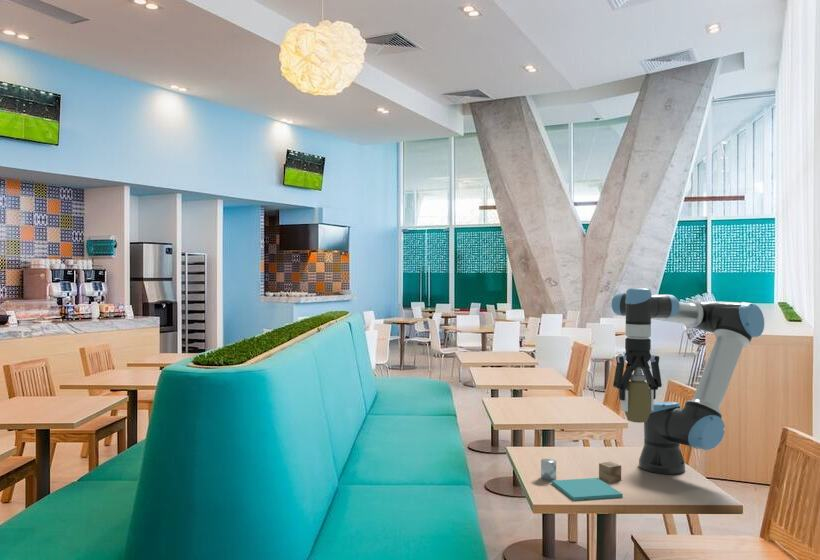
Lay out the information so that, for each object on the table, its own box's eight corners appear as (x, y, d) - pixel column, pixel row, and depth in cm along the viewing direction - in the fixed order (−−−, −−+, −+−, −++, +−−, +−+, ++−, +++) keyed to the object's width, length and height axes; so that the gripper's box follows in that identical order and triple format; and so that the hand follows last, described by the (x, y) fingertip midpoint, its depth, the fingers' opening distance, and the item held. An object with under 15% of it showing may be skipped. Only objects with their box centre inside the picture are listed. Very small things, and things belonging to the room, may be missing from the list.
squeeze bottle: (619, 421, 200) (620, 363, 200) (629, 417, 206) (629, 361, 206) (645, 425, 195) (646, 366, 195) (654, 420, 201) (655, 363, 201)
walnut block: (610, 476, 216) (610, 461, 216) (621, 480, 211) (621, 465, 211) (598, 478, 214) (599, 463, 214) (609, 482, 209) (609, 467, 209)
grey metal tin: (552, 476, 216) (552, 458, 216) (558, 480, 211) (558, 462, 211) (538, 477, 215) (538, 459, 215) (544, 481, 210) (544, 463, 210)
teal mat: (597, 480, 211) (597, 477, 211) (622, 497, 195) (622, 493, 195) (551, 483, 208) (551, 480, 208) (573, 500, 192) (573, 497, 192)
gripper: (660, 336, 206) (660, 406, 206) (601, 336, 202) (600, 409, 202) (675, 338, 199) (674, 411, 199) (613, 339, 194) (613, 413, 195)
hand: (637, 410), depth 200 cm, fingers closed on squeeze bottle, 8 cm apart
